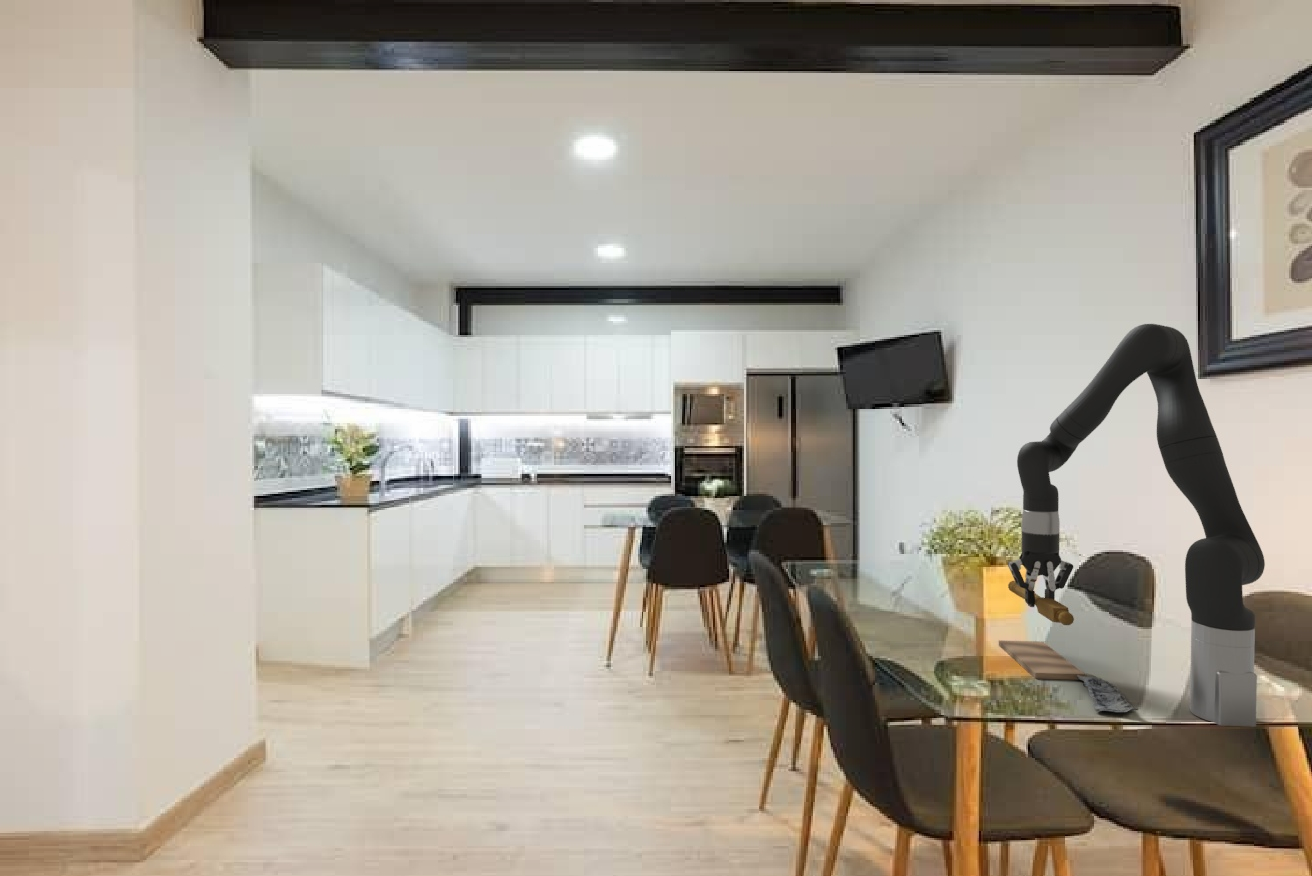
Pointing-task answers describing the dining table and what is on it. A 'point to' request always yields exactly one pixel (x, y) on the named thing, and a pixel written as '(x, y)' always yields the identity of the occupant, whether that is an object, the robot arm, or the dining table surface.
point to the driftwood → (1105, 695)
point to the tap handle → (1046, 606)
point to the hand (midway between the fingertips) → (1039, 606)
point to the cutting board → (1040, 660)
